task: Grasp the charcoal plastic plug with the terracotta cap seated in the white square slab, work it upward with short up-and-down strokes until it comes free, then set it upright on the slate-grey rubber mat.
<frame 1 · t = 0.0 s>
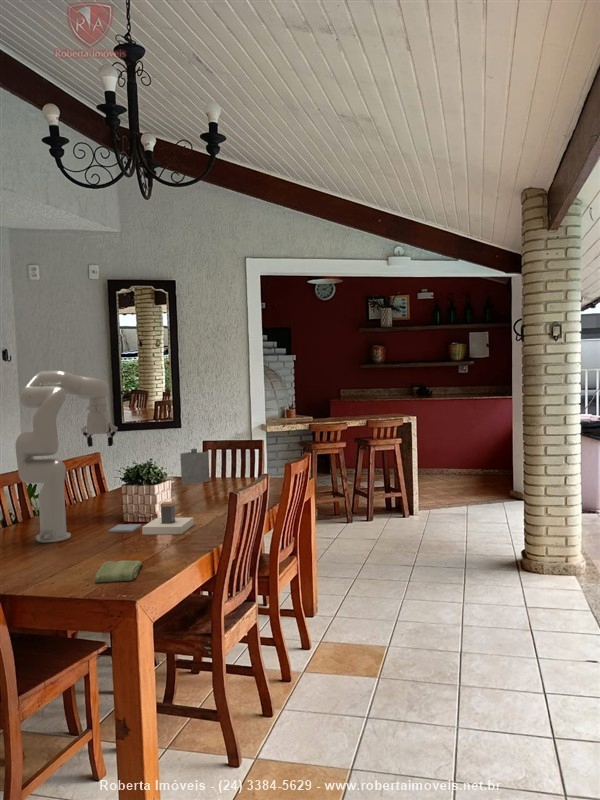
hand: (100, 446, 303), 31 cm above the table, fingers open, 9 cm apart
plug: (168, 516, 268), in the white square slab
mat: (125, 529, 272), on the table
white square slab: (168, 529, 268), on the table
hip flask: (195, 483, 380), on the table
washcloth: (118, 575, 210), on the table
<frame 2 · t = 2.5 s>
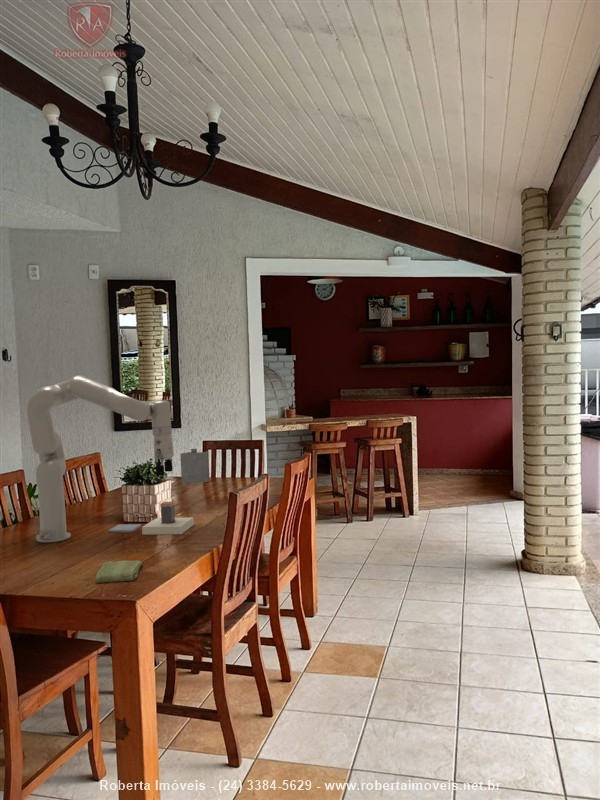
hand: (164, 473, 268), 23 cm above the table, fingers open, 9 cm apart
nothing on the table moved.
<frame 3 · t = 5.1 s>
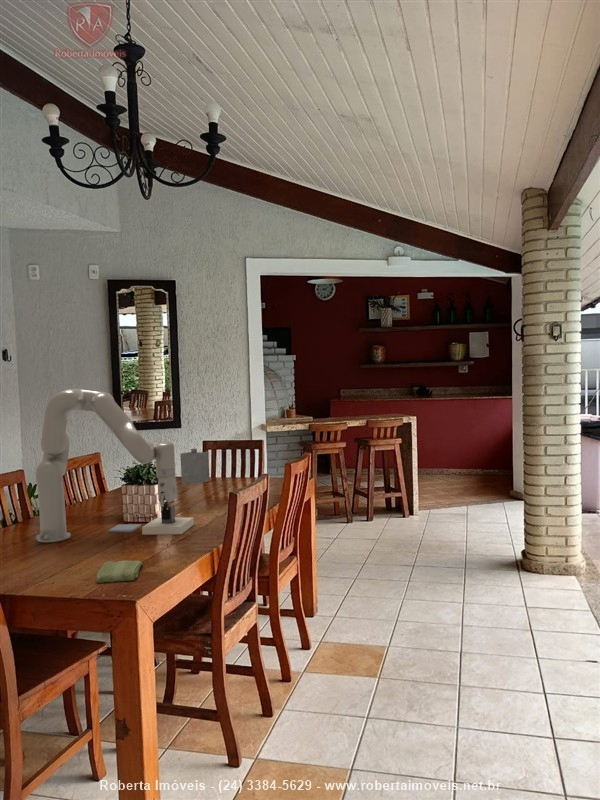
hand: (168, 517, 268), 5 cm above the table, fingers closed on plug, 4 cm apart
plug: (168, 516, 268), in the white square slab, touching gripper
everything else where it was.
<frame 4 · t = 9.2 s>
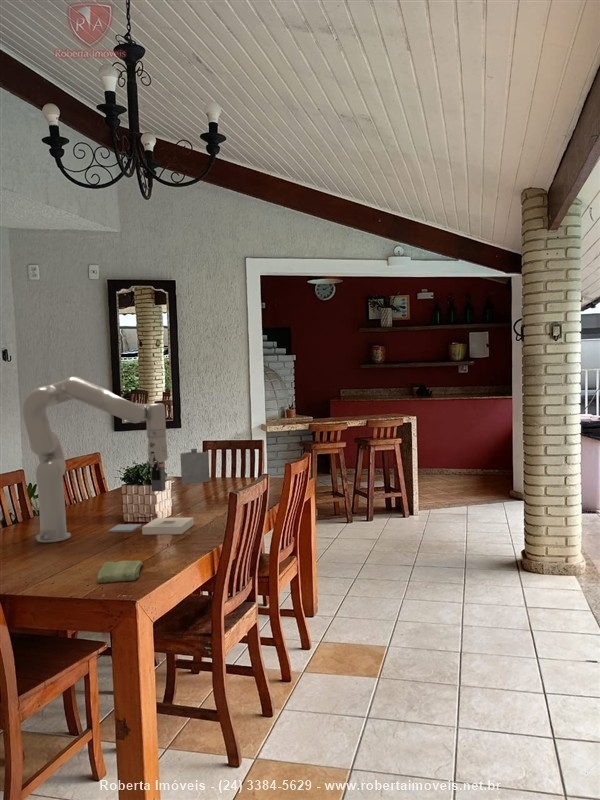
hand: (158, 478, 268), 21 cm above the table, fingers closed on plug, 4 cm apart
plug: (158, 476, 268), point 21 cm above the table, touching gripper
everything else where it was.
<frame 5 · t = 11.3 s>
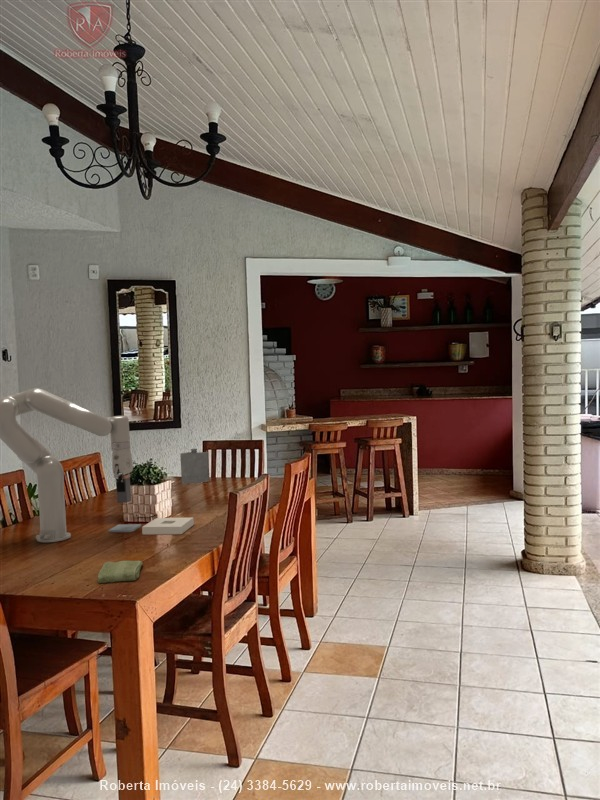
hand: (123, 490, 271), 16 cm above the table, fingers closed on plug, 4 cm apart
plug: (123, 488, 271), point 17 cm above the table, touching gripper
everything else where it was.
when the fingers open (7 cm above the table, at t = 13.2 s): plug drops 1 cm, resting on mat.
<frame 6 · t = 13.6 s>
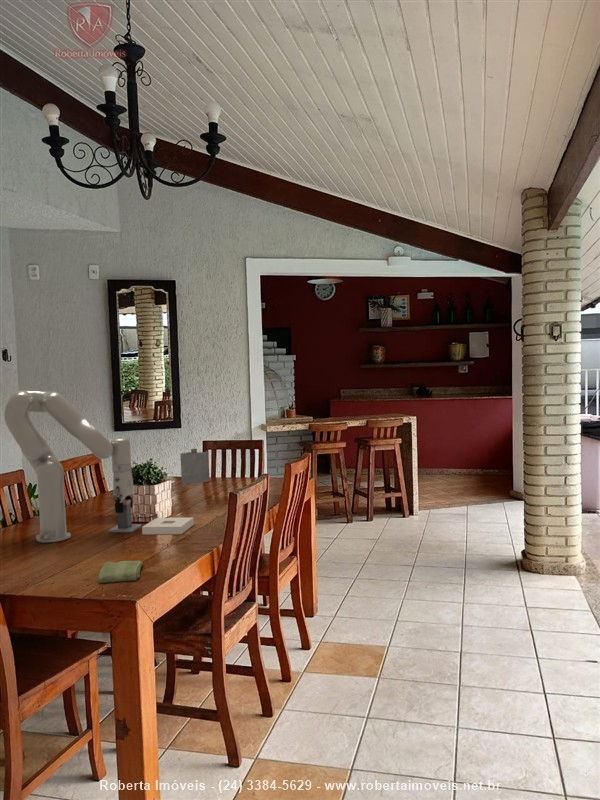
hand: (124, 509, 271), 8 cm above the table, fingers open, 8 cm apart
plug: (124, 514, 272), on the mat, point 6 cm above the table
everything else where it was.
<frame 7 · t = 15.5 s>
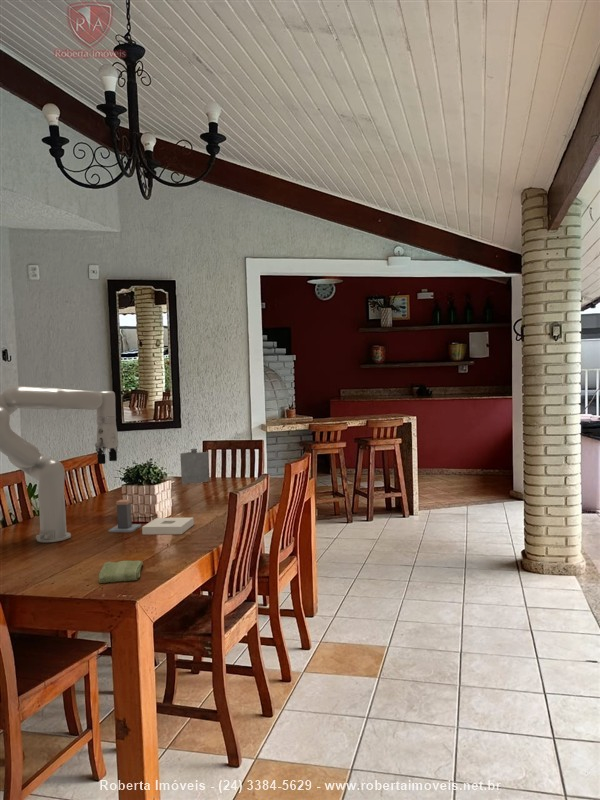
hand: (107, 462, 274), 27 cm above the table, fingers open, 9 cm apart
nothing on the table moved.
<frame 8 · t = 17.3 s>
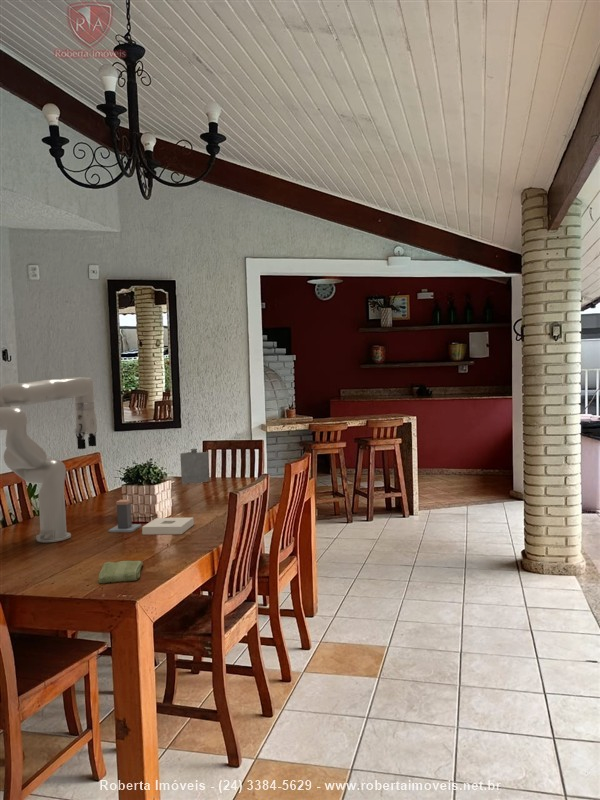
hand: (87, 447, 280), 33 cm above the table, fingers open, 9 cm apart
nothing on the table moved.
at the end: plug inside the target area on the mat (0.1 cm from its centre), point 6.3 cm above the mat's base; plug tilted 0°; the gripper is holding nothing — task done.
